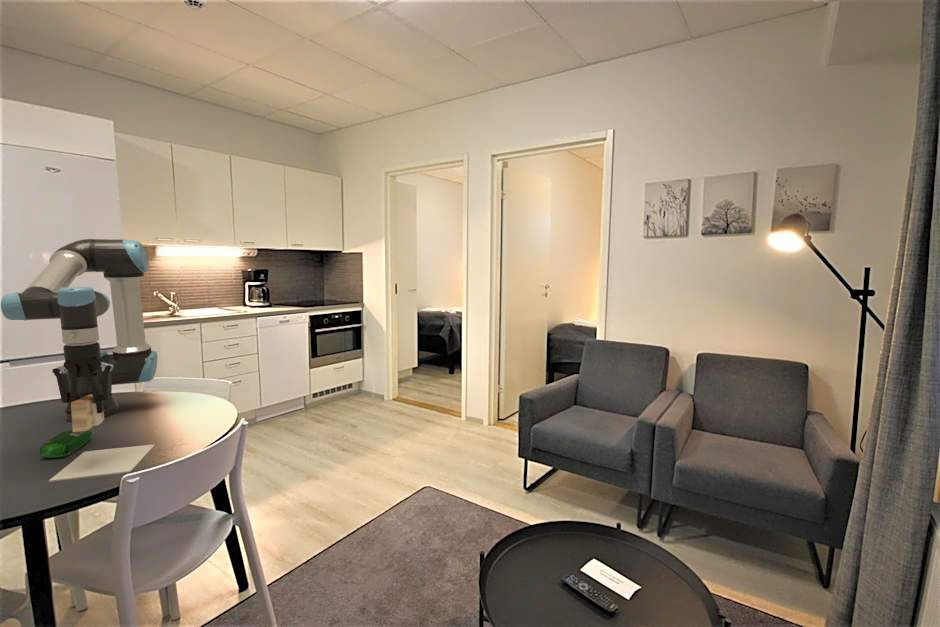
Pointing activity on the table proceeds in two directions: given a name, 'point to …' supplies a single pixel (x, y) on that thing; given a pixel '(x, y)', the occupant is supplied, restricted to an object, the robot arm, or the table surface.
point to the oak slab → (83, 413)
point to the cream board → (103, 462)
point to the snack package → (64, 443)
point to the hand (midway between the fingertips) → (89, 424)
